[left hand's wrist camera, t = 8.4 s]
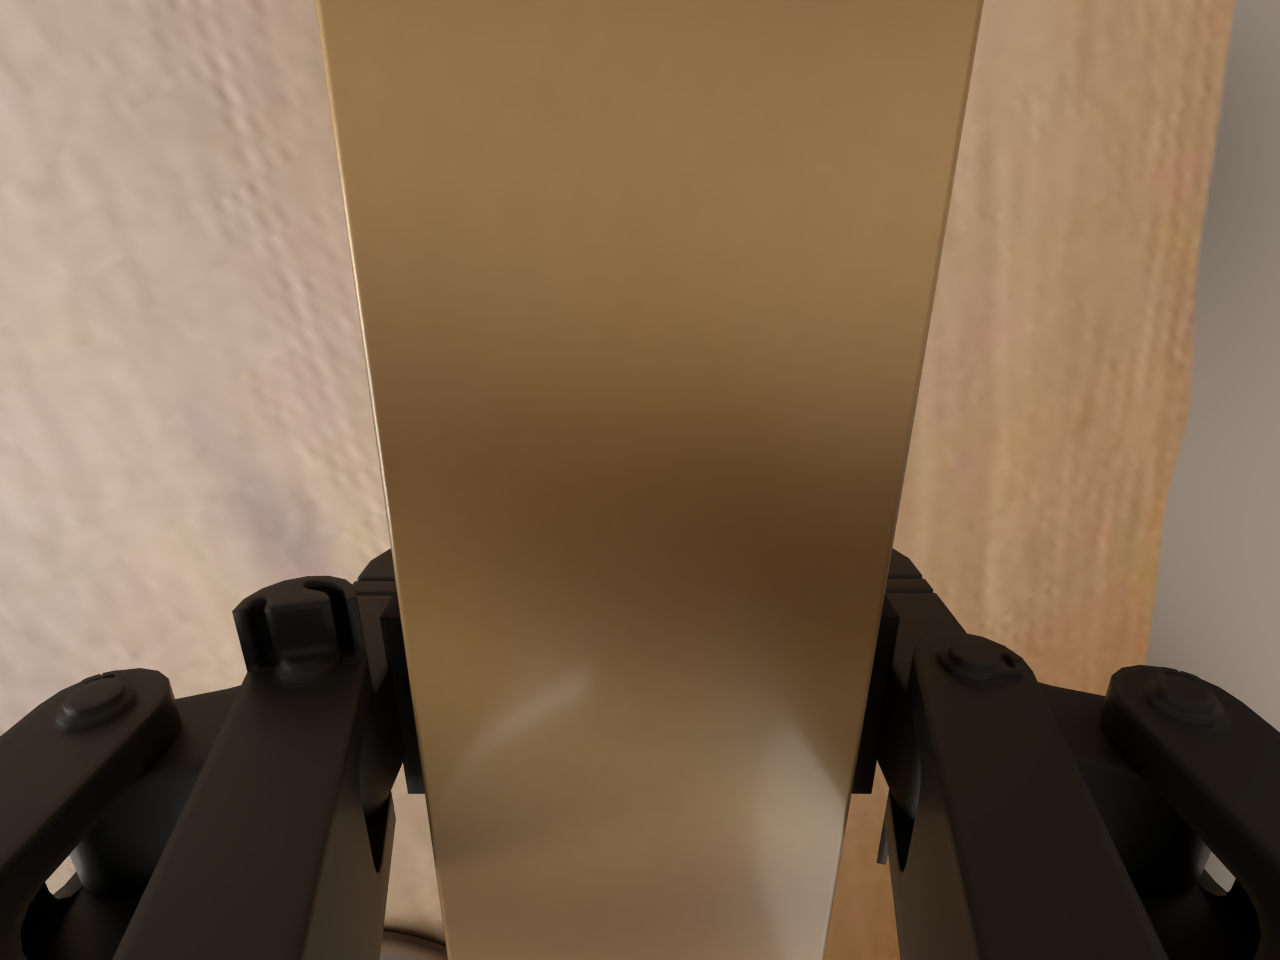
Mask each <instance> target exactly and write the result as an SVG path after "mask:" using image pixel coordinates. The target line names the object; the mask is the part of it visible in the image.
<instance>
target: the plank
mask: <svg viewBox="0 0 1280 960" xmlns="http://www.w3.org/2000/svg"><path fill="white" fill-rule="evenodd" d="M315 2H316V9H317V17H318V24H319V31H320V38H321V46H322V53H323V60H324V67H325V74H326V82H327V89H328V96H329V103H330V111H331V118H332V125H333V132H334V139H335V147H336V154H337V161H338V168H339V176H340V183H341V190H342V197H343V204H344V212H345V219H346V226H347V233H348V240H349V248H350V255H351V262H352V269H353V277H354V284H355V291H356V298H357V305H358V313H359V320H360V327H361V334H362V342H363V349H364V356H365V363H366V370H367V378H368V385H369V392H370V399H371V407H372V414H373V421H374V428H375V435H376V443H377V450H378V457H379V464H380V471H381V479H382V486H383V493H384V500H385V508H386V515H387V522H388V529H389V536H390V544H391V551H392V558H393V565H394V573H395V580H396V587H397V594H398V601H399V609H400V616H401V623H402V630H403V637H404V645H405V652H406V659H407V666H408V674H409V681H410V688H411V695H412V702H413V710H414V717H415V724H416V731H417V739H418V746H419V753H420V760H421V767H422V775H423V782H424V789H425V796H426V804H427V811H428V818H429V825H430V832H431V840H432V847H433V854H434V861H435V868H436V876H437V883H438V890H439V897H440V905H441V912H442V919H443V926H444V933H445V941H446V948H447V955H448V960H824V955H825V949H826V943H827V937H828V931H829V925H830V919H831V913H832V907H833V901H834V895H835V889H836V883H837V877H838V871H839V865H840V859H841V853H842V847H843V841H844V835H845V829H846V823H847V817H848V811H849V805H850V799H851V793H852V787H853V781H854V775H855V769H856V763H857V757H858V751H859V745H860V739H861V733H862V727H863V721H864V715H865V709H866V703H867V697H868V691H869V685H870V679H871V673H872V667H873V661H874V655H875V649H876V643H877V637H878V631H879V625H880V619H881V613H882V607H883V601H884V595H885V589H886V583H887V577H888V571H889V565H890V559H891V553H892V547H893V541H894V535H895V529H896V523H897V517H898V511H899V505H900V499H901V493H902V487H903V481H904V475H905V469H906V463H907V457H908V451H909V445H910V439H911V433H912V427H913V421H914V415H915V409H916V403H917V397H918V391H919V385H920V379H921V373H922V367H923V361H924V355H925V349H926V343H927V337H928V331H929V325H930V319H931V313H932V307H933V301H934V295H935V289H936V283H937V277H938V271H939V265H940V259H941V253H942V247H943V241H944V235H945V229H946V223H947V217H948V211H949V205H950V199H951V193H952V187H953V181H954V175H955V169H956V163H957V157H958V151H959V145H960V139H961V133H962V127H963V121H964V115H965V109H966V103H967V97H968V91H969V85H970V79H971V73H972V67H973V61H974V55H975V49H976V43H977V37H978V31H979V25H980V19H981V13H982V8H983V2H984V0H315Z"/></svg>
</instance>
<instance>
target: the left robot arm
mask: <svg viewBox="0 0 1280 960" xmlns="http://www.w3.org/2000/svg"><path fill="white" fill-rule="evenodd" d="M232 613H233V617H234V621H235V624H236V628H237V632H238V636H239V640H240V644H241V648H242V652H243V656H244V660H245V664H246V668H247V674H246V677H245V679H244V681H243V683H242V685H241V686H237V687H233V688H229V689H225V690H220V691H215V692H210V693H204V694H199V695H194V696H189V697H184V698H179V699H175V698H174V695H173V691H172V688H171V685H170V682H169V679H168V678H167V677H166V676H164V675H163V674H162V673H160V672H159V671H155V670H149V669H142V668H137V669H128V670H116V671H111V672H106V673H103V674H102V675H100V674H98V675H95V676H92V677H89V678H86V679H84V680H82V681H81V682H79V683H77V684H75V685H72V686H70V687H68V688H66V689H63V690H61V691H60V692H58V693H57V694H55V695H54V696H52V697H51V698H49V699H48V700H46V701H45V702H43V703H42V704H40V705H38V706H37V707H36V708H35V709H34V710H32V711H31V712H30V713H29V714H27V715H26V716H25V717H24V718H23V719H21V720H20V721H19V722H18V723H16V724H15V725H14V726H13V727H12V728H10V729H9V730H8V731H7V732H5V733H4V734H3V735H2V736H1V737H0V960H448V955H447V948H446V947H445V946H442V945H440V944H437V943H434V942H432V941H429V940H425V939H422V938H419V937H415V936H410V935H406V934H401V933H395V932H387V931H383V927H384V918H385V909H386V900H387V891H388V883H389V874H390V865H391V856H392V847H393V839H394V830H395V821H396V818H395V811H394V805H393V799H392V793H391V789H392V786H393V784H394V782H395V779H396V777H397V775H398V772H399V770H400V768H401V765H402V763H403V765H404V771H405V777H406V783H407V789H408V794H425V789H424V782H423V775H422V767H421V760H420V753H419V746H418V739H417V731H416V724H415V717H414V710H413V702H412V695H411V688H410V681H409V674H408V666H407V659H406V652H405V645H404V637H403V630H402V623H401V616H400V609H399V601H398V594H397V587H396V580H395V573H394V565H393V558H392V551H391V549H389V550H387V551H386V552H384V553H383V554H381V555H379V556H378V557H376V558H375V559H373V560H371V561H370V563H369V564H368V565H367V566H366V568H365V569H364V570H363V572H362V573H361V574H360V576H359V577H358V581H355V582H354V583H353V585H352V584H351V583H349V582H348V581H347V580H345V579H341V578H336V577H332V576H306V577H301V578H296V579H291V580H285V581H282V582H279V583H276V584H274V585H271V586H268V587H265V588H262V589H261V590H259V591H257V592H255V593H254V594H252V595H250V596H249V597H247V598H245V599H244V600H243V601H242V602H241V603H240V604H239V605H238V606H237V607H236V608H235V609H234V610H233V611H232ZM877 761H878V763H879V765H880V768H881V770H882V772H883V775H884V777H885V779H886V782H887V784H888V786H889V793H888V799H887V805H886V811H885V816H884V822H883V828H882V833H881V839H880V845H879V851H878V857H877V863H880V864H885V865H886V861H887V856H888V855H889V863H890V872H891V881H892V890H893V898H894V907H895V916H896V925H897V934H898V942H899V951H900V960H1280V732H1278V731H1277V730H1276V729H1275V728H1273V727H1272V726H1271V725H1270V724H1268V723H1267V722H1266V721H1265V720H1264V719H1262V718H1261V717H1260V716H1259V715H1257V714H1256V713H1255V712H1254V711H1252V710H1251V709H1250V708H1249V707H1248V706H1246V705H1245V704H1244V703H1243V702H1241V701H1240V700H1238V699H1236V698H1235V697H1234V696H1232V695H1230V694H1229V693H1227V692H1226V691H1224V690H1223V689H1221V688H1220V687H1218V686H1215V685H1213V684H1211V683H1209V682H1206V681H1204V680H1202V679H1200V678H1199V677H1197V676H1195V675H1193V674H1189V673H1186V672H1183V671H1181V672H1179V671H1177V670H1176V669H1171V668H1166V667H1154V666H1145V665H1137V666H1131V667H1124V668H1121V669H1120V670H1118V671H1117V672H1116V673H1114V674H1113V675H1112V676H1111V680H1110V683H1109V686H1108V689H1107V693H1106V696H1101V695H1096V694H1091V693H1086V692H1081V691H1076V690H1070V689H1065V688H1060V687H1055V686H1051V685H1047V684H1043V683H1039V682H1037V680H1036V678H1035V675H1034V673H1033V671H1032V670H1031V669H1030V667H1029V666H1028V665H1027V664H1026V662H1025V661H1024V660H1023V659H1022V658H1021V657H1020V656H1018V655H1017V654H1016V653H1014V652H1013V651H1011V650H1010V649H1008V648H1007V647H1005V646H1003V645H1001V644H999V643H996V642H994V641H991V640H989V639H987V638H984V637H980V636H976V635H971V634H967V633H966V632H965V630H964V629H963V628H962V626H961V625H960V624H959V622H958V621H957V620H956V619H955V617H954V616H953V615H952V613H951V612H950V611H949V610H948V608H947V607H946V606H945V604H944V603H943V602H942V600H941V599H940V598H939V597H938V595H937V594H936V593H933V589H932V588H931V586H930V585H929V584H928V582H927V581H926V580H925V579H922V575H921V573H920V572H919V571H918V569H917V568H916V567H915V566H914V564H913V563H912V562H911V560H910V559H909V558H907V557H906V556H904V555H903V554H901V553H899V552H898V551H896V550H894V549H893V548H892V553H891V559H890V565H889V571H888V577H887V583H886V589H885V595H884V601H883V607H882V613H881V619H880V625H879V631H878V637H877V643H876V649H875V655H874V661H873V667H872V673H871V679H870V685H869V691H868V697H867V703H866V709H865V715H864V721H863V727H862V733H861V739H860V745H859V751H858V757H857V763H856V769H855V775H854V781H853V787H852V793H851V794H871V793H872V786H873V780H874V774H875V768H876V762H877ZM1211 851H1212V852H1213V853H1214V854H1215V855H1216V857H1217V858H1218V859H1219V860H1220V861H1221V862H1222V863H1223V864H1224V865H1225V866H1226V868H1227V869H1228V870H1229V871H1230V872H1231V873H1232V874H1233V876H1234V877H1235V878H1236V880H1235V882H1234V884H1233V886H1232V888H1231V890H1230V891H1229V892H1226V891H1225V890H1224V889H1223V888H1222V887H1221V886H1219V885H1218V884H1217V883H1216V882H1215V881H1214V880H1213V878H1212V877H1211V876H1210V875H1209V874H1208V873H1207V871H1206V870H1205V869H1204V867H1205V865H1206V863H1207V860H1208V858H1209V855H1210V853H1211ZM69 855H70V857H71V859H72V862H73V864H74V867H75V869H76V873H75V874H74V875H73V876H72V877H71V878H70V880H69V881H68V882H67V883H66V884H65V885H64V886H63V887H62V888H61V889H59V890H58V891H57V892H56V893H55V894H53V895H52V894H51V893H50V892H49V890H48V888H47V886H46V883H45V881H46V880H47V879H48V878H49V877H50V876H51V875H52V873H53V872H54V871H55V870H56V869H57V868H58V867H59V866H60V864H61V863H62V862H63V861H64V860H65V859H66V858H67V857H68V856H69Z"/></svg>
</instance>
